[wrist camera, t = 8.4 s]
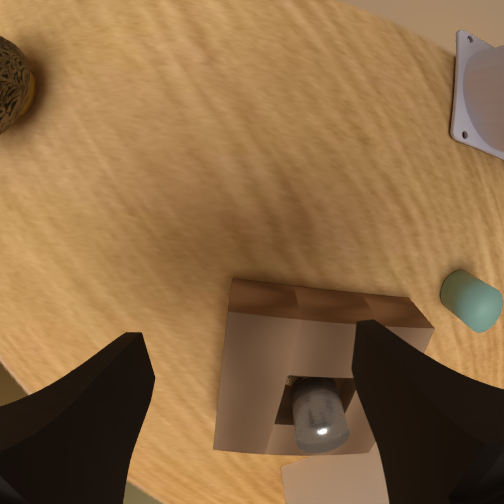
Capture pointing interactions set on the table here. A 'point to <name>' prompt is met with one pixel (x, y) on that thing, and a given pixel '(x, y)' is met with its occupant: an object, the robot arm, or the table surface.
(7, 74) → the cup
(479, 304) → the short pin
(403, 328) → the hole block
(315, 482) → the milk
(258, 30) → the table surface
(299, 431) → the tall pin
